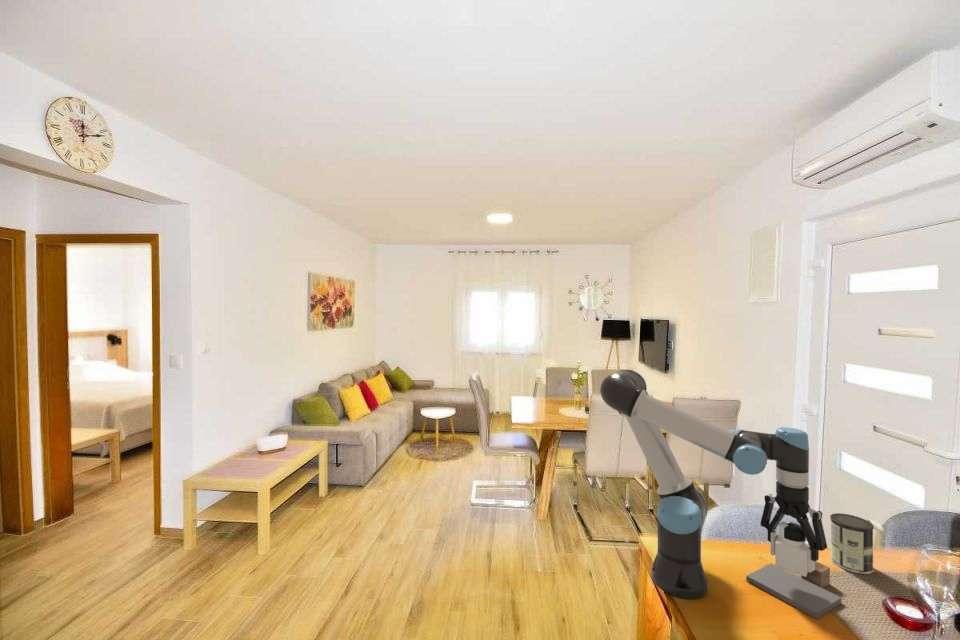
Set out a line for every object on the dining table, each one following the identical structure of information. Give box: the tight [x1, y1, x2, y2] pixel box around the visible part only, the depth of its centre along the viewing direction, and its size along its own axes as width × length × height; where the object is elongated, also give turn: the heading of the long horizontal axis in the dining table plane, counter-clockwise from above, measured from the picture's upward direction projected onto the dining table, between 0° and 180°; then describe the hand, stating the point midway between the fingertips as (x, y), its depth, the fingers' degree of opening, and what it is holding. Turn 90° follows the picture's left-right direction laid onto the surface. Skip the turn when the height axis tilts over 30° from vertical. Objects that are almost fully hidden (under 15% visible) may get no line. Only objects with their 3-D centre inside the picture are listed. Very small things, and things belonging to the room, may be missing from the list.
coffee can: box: [829, 512, 875, 575], centre depth 133 cm, size 10×10×14 cm
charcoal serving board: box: [745, 563, 842, 620], centre depth 120 cm, size 18×13×2 cm
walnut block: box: [800, 561, 831, 589], centre depth 124 cm, size 5×5×5 cm
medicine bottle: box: [774, 521, 809, 577], centre depth 120 cm, size 7×7×12 cm
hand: (792, 561), depth 120 cm, fingers closed on medicine bottle, 8 cm apart
